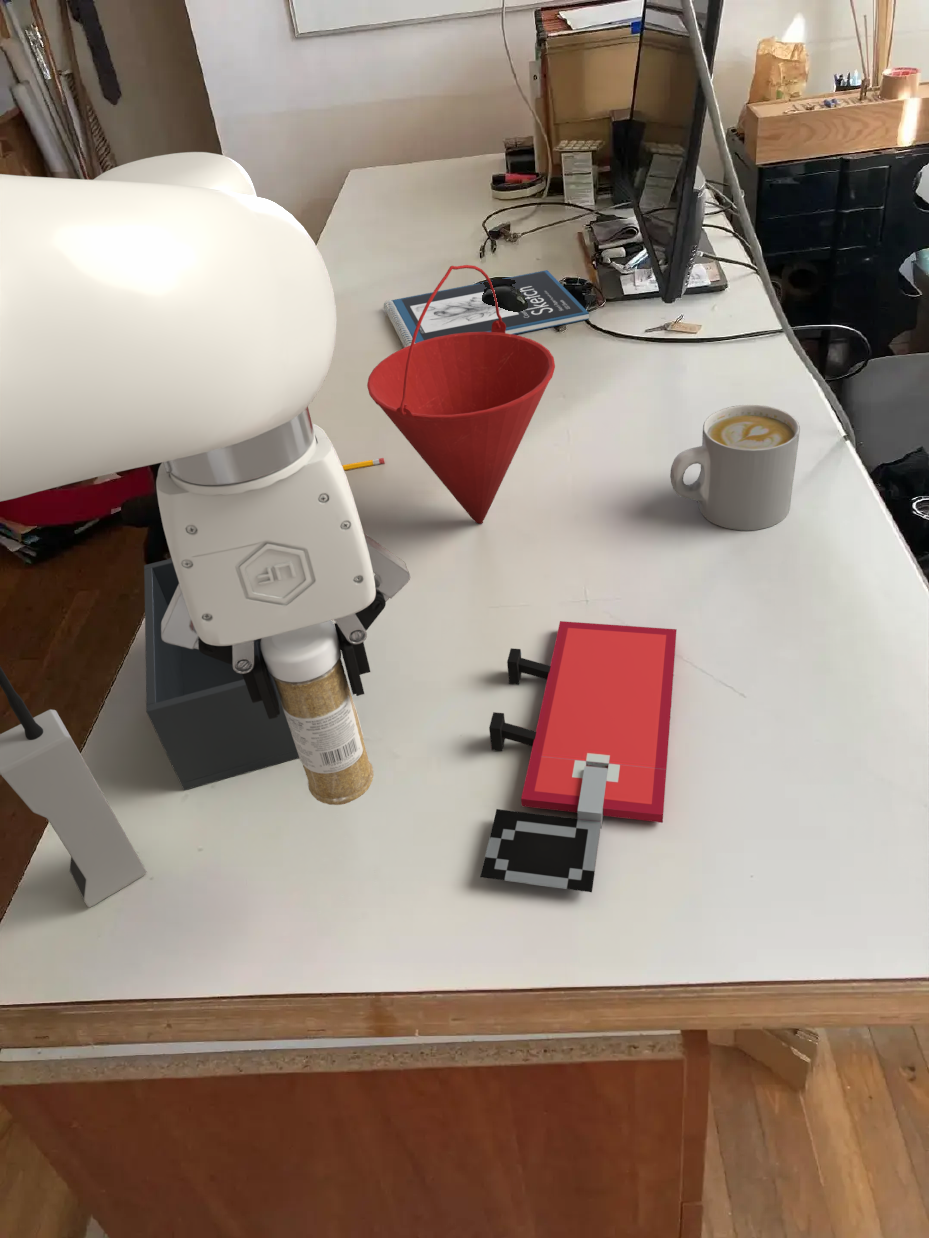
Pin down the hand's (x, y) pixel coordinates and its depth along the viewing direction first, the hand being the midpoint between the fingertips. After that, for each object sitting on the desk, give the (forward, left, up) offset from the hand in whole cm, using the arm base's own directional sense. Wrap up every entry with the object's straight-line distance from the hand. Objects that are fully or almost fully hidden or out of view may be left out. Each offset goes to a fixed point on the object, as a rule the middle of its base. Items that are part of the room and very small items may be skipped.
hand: (313, 689), depth 58 cm
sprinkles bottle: (0, 0, -9) cm, 9 cm away
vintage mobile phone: (+9, +20, -22) cm, 31 cm away
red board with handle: (+8, -20, -22) cm, 31 cm away
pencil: (+65, -5, -22) cm, 69 cm away
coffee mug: (+36, -49, -22) cm, 64 cm away
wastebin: (+27, +6, -22) cm, 35 cm away
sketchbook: (+104, -40, -22) cm, 113 cm away
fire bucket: (+45, -22, -22) cm, 54 cm away
